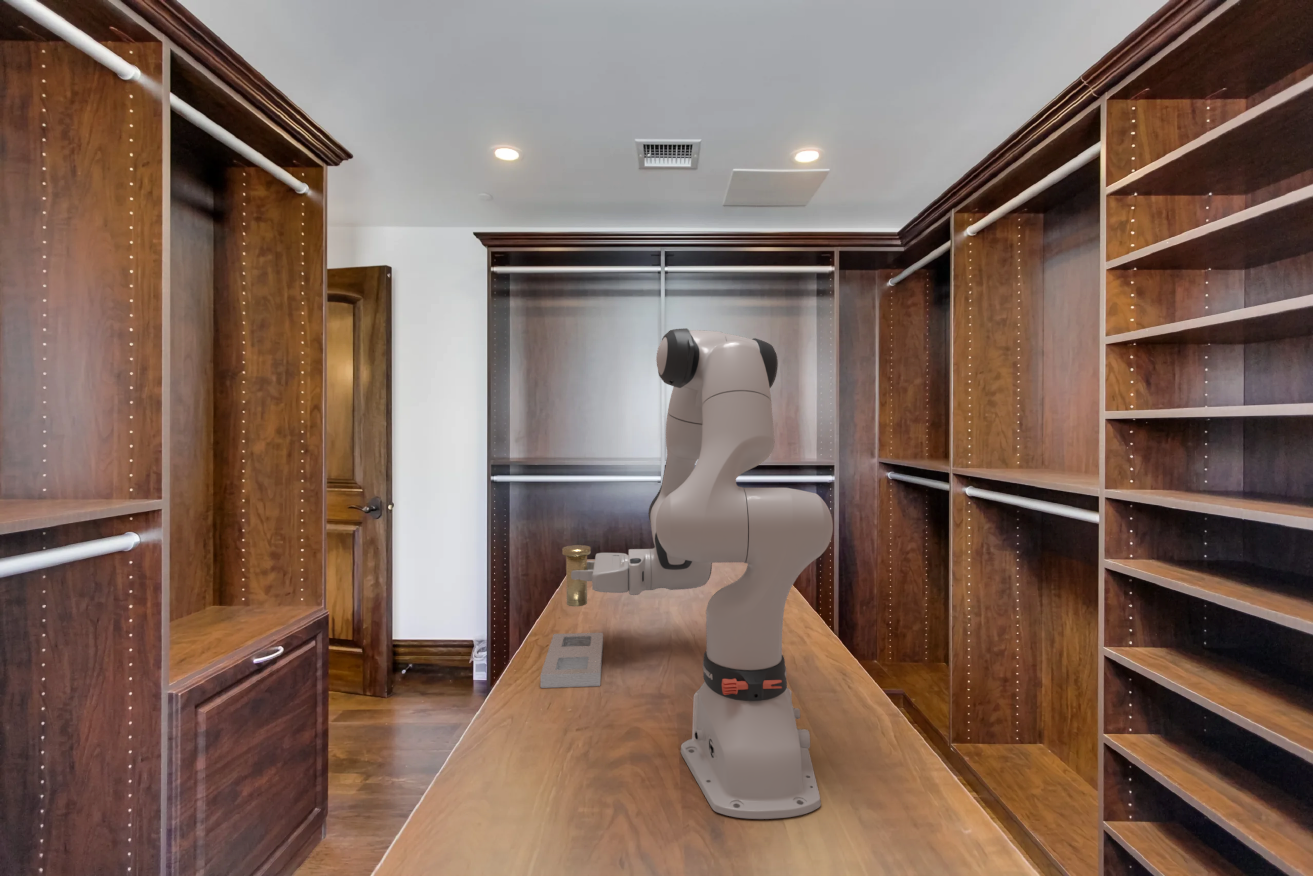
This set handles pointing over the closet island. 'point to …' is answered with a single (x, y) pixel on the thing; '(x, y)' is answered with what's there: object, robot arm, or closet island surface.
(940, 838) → the closet island surface
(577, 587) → the brass capped peg
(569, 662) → the plate
